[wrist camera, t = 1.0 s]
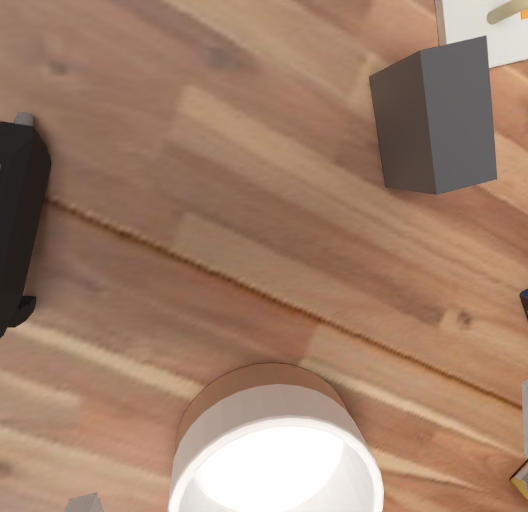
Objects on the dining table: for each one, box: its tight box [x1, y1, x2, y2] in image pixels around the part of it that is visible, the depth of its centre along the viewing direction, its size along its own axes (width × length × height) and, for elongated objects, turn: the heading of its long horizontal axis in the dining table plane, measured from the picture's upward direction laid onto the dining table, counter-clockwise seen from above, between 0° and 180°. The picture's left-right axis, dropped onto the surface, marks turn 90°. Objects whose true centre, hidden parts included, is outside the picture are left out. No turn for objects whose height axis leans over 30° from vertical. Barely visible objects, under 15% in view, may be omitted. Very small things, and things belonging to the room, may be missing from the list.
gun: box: [0, 112, 51, 338], centre depth 29 cm, size 3×16×10 cm, turn 172°
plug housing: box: [369, 35, 497, 195], centre depth 29 cm, size 9×4×8 cm, turn 13°
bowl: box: [167, 363, 384, 512], centre depth 35 cm, size 17×17×8 cm
